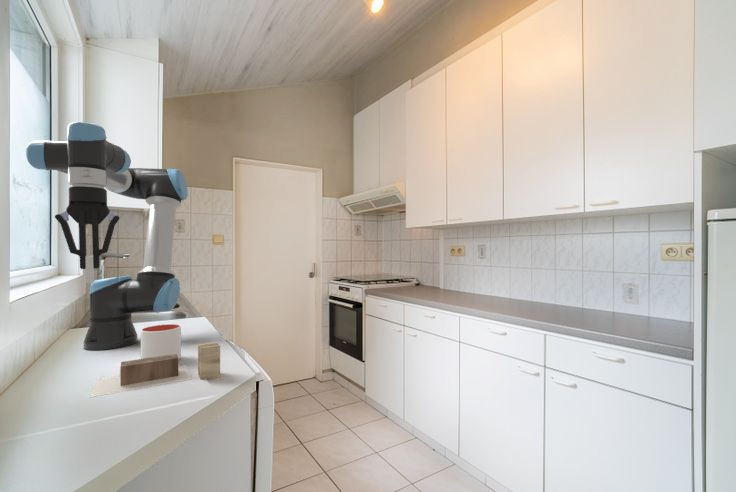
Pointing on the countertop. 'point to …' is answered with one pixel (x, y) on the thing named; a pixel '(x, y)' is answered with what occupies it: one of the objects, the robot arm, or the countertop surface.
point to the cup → (161, 341)
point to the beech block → (209, 361)
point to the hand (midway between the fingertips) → (90, 281)
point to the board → (113, 383)
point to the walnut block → (148, 369)
